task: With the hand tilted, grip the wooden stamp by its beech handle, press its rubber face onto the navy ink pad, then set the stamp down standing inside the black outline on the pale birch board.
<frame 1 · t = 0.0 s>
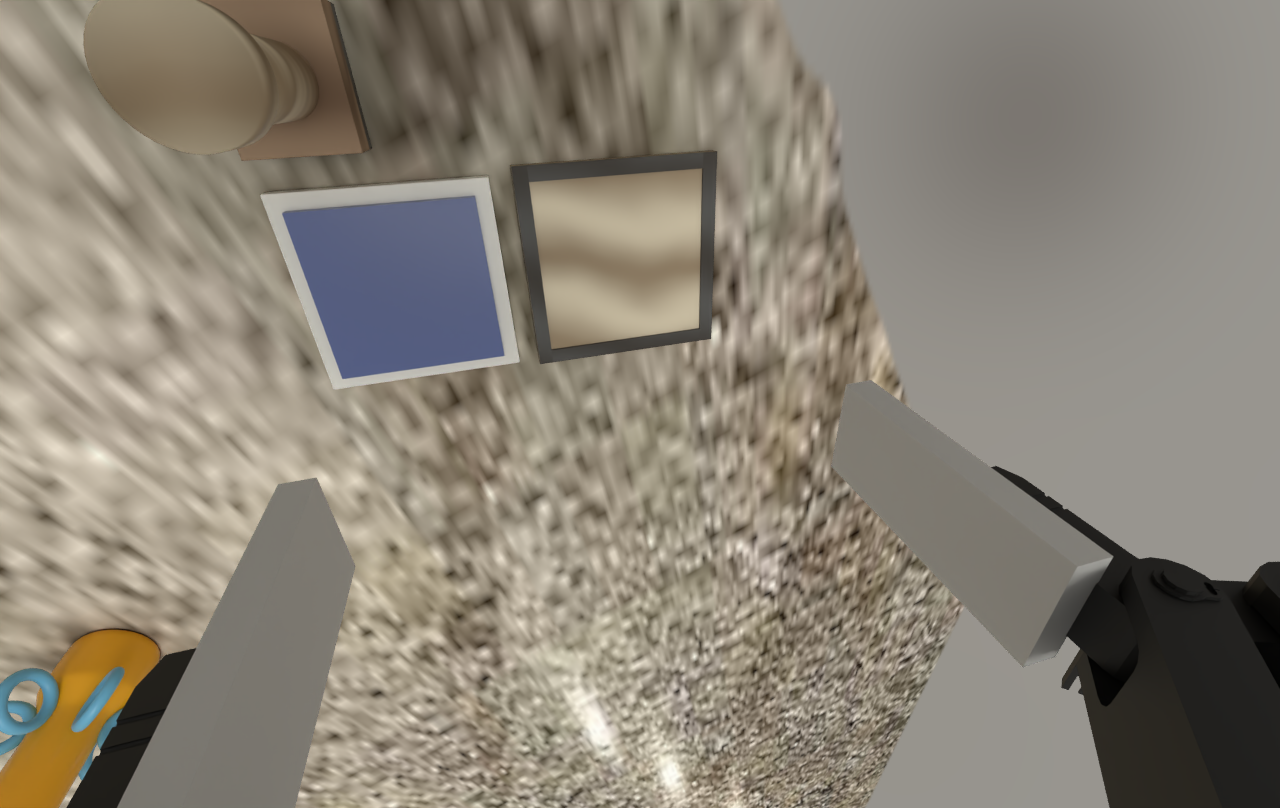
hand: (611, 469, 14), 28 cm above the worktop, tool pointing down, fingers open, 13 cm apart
stamp: (296, 82, 30), on the worktop
orange post with loops: (119, 649, 45), on the worktop
marked board: (621, 260, 40), on the worktop
ink pad: (408, 284, 37), on the worktop
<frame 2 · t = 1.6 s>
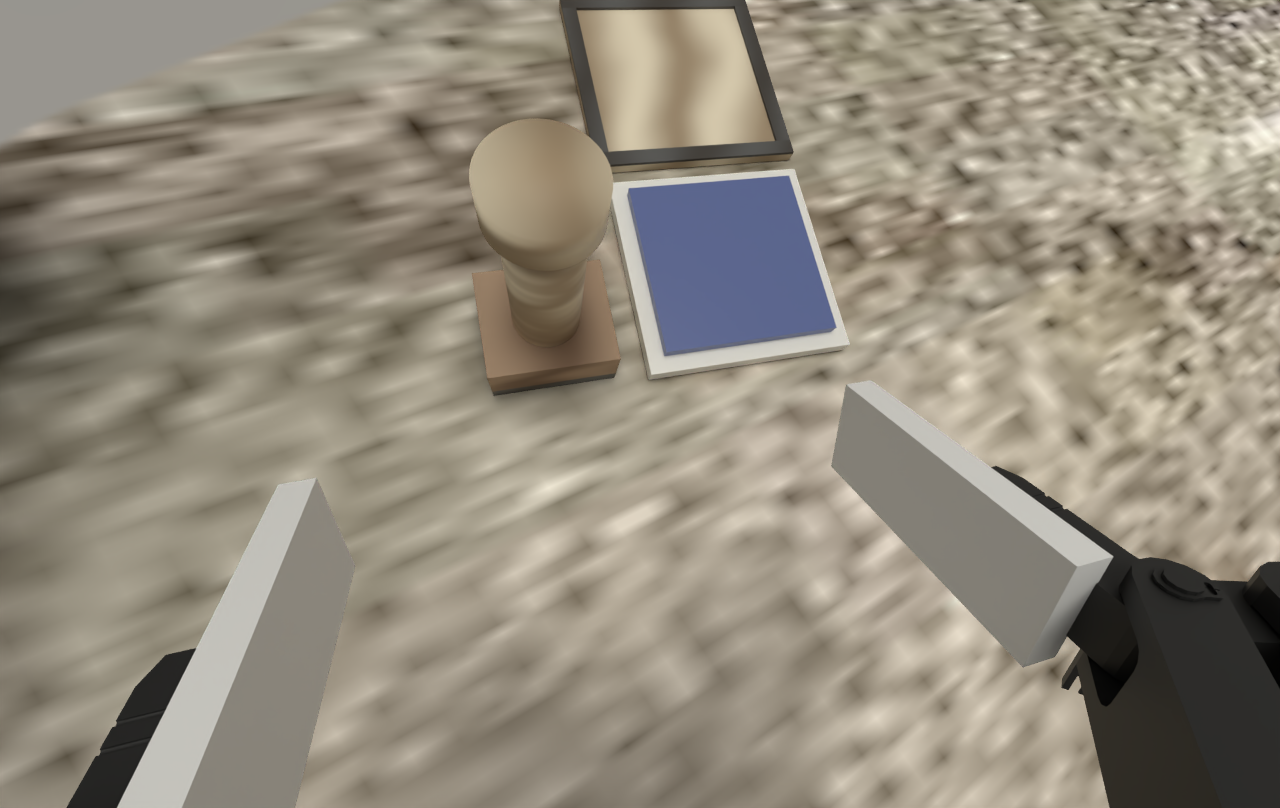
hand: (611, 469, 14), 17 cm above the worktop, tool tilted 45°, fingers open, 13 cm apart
stamp: (546, 338, 32), on the worktop
marked board: (673, 83, 38), on the worktop
ink pad: (723, 271, 35), on the worktop
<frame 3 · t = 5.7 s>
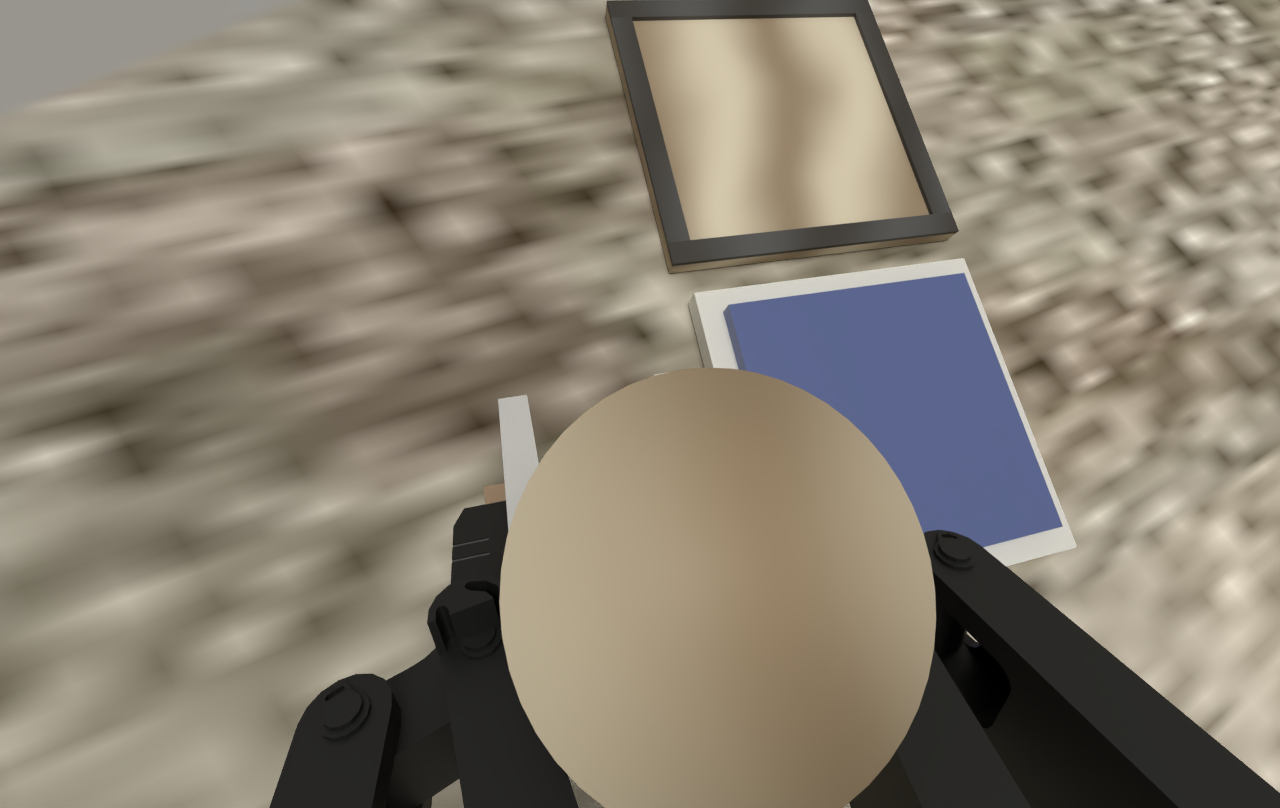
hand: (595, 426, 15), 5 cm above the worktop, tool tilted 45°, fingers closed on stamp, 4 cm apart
stamp: (604, 559, 19), on the worktop, touching gripper
marked board: (774, 127, 26), on the worktop
ink pad: (870, 424, 23), on the worktop
when the fingers open (7 cm above the worktop, at t = 14.5 s): stamp drops 1 cm, resting on marked board.
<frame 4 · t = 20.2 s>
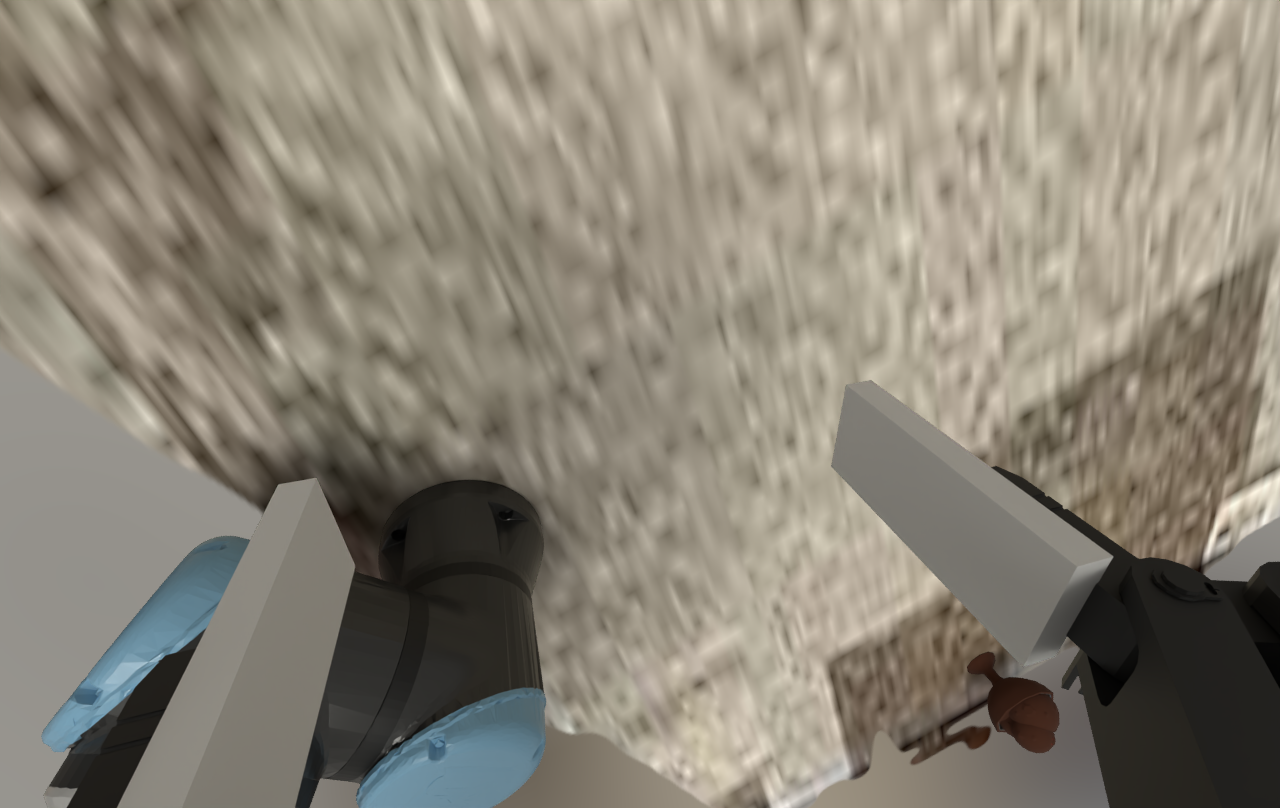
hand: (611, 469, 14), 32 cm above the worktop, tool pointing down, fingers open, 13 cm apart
ice cream bowl: (979, 661, 97), on the worktop
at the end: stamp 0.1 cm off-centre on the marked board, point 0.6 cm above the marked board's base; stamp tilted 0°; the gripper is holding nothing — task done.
